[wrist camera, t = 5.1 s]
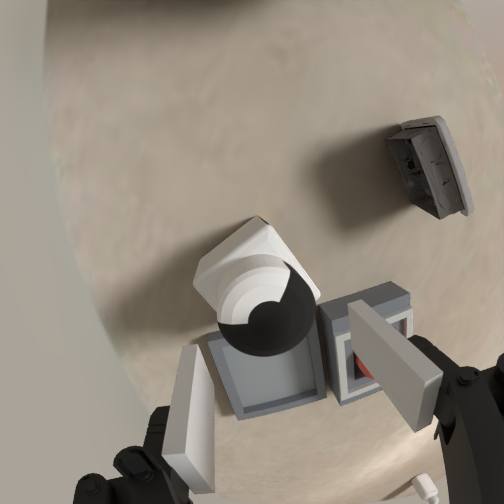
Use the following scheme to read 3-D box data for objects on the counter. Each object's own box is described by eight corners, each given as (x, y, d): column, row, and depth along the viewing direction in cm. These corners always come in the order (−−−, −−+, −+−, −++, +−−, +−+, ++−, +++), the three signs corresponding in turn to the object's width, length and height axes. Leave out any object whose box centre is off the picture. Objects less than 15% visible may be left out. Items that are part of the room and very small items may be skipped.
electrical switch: (434, 195, 28) (486, 206, 19) (402, 214, 29) (451, 231, 20) (403, 121, 26) (453, 108, 17) (369, 137, 27) (414, 126, 18)
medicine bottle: (300, 270, 28) (348, 324, 17) (243, 313, 29) (257, 387, 17) (257, 213, 27) (283, 233, 15) (198, 259, 27) (180, 312, 16)
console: (207, 333, 29) (206, 357, 25) (390, 281, 30) (413, 294, 25) (237, 411, 32) (239, 436, 27) (391, 362, 33) (408, 381, 28)
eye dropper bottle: (424, 469, 44) (444, 500, 32) (427, 474, 45) (446, 502, 33) (409, 479, 44) (428, 511, 32) (413, 483, 45) (431, 512, 34)
